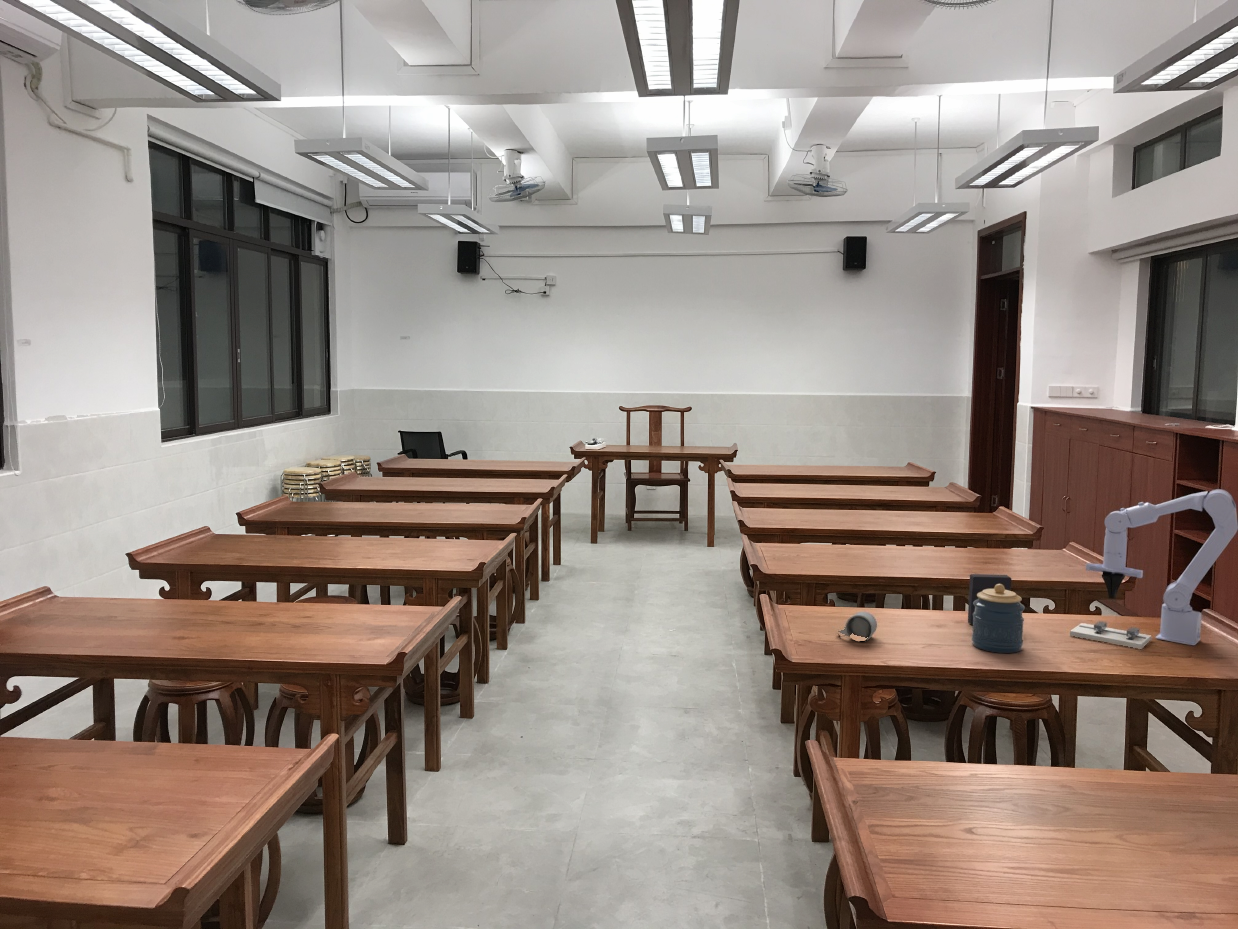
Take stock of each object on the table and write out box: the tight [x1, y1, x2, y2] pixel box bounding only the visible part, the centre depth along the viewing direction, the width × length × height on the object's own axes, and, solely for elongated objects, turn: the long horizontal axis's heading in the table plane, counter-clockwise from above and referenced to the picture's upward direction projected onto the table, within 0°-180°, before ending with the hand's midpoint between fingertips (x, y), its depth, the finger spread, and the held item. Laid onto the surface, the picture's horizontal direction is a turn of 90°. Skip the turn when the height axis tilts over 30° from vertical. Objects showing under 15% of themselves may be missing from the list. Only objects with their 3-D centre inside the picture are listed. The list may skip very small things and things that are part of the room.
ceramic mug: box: [837, 611, 878, 641], centre depth 249 cm, size 11×8×8 cm
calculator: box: [967, 573, 1012, 626], centre depth 262 cm, size 11×4×15 cm, turn 84°
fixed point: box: [1126, 626, 1140, 638], centre depth 245 cm, size 2×6×2 cm, turn 136°
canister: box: [971, 584, 1025, 654], centre depth 240 cm, size 13×13×18 cm
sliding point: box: [1093, 620, 1108, 632], centre depth 250 cm, size 2×6×2 cm, turn 136°
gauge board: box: [1069, 622, 1152, 650], centre depth 249 cm, size 18×11×2 cm, turn 46°
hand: (1112, 598), depth 257 cm, fingers closed
